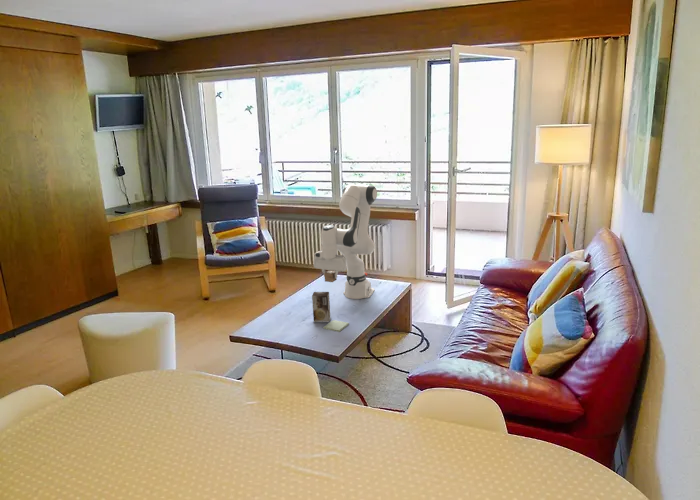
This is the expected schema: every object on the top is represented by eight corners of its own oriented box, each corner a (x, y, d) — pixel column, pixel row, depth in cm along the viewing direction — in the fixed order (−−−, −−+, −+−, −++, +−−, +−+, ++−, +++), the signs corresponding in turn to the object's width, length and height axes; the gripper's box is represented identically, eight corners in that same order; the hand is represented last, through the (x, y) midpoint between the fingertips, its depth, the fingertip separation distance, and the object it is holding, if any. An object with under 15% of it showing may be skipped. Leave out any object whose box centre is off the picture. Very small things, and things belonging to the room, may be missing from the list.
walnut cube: (329, 278, 292) (328, 270, 291) (336, 279, 290) (336, 271, 289) (324, 281, 288) (324, 272, 287) (332, 282, 286) (331, 273, 284)
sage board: (333, 321, 283) (333, 319, 283) (348, 324, 279) (348, 322, 279) (323, 328, 274) (323, 327, 274) (339, 331, 270) (339, 330, 269)
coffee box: (330, 317, 289) (329, 291, 285) (329, 322, 283) (327, 295, 279) (315, 317, 290) (313, 291, 286) (313, 322, 284) (311, 295, 279)
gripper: (348, 254, 283) (349, 277, 286) (317, 250, 292) (318, 273, 296) (343, 257, 277) (343, 280, 281) (311, 253, 287) (312, 276, 290)
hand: (330, 276), depth 288 cm, fingers closed on walnut cube, 5 cm apart
